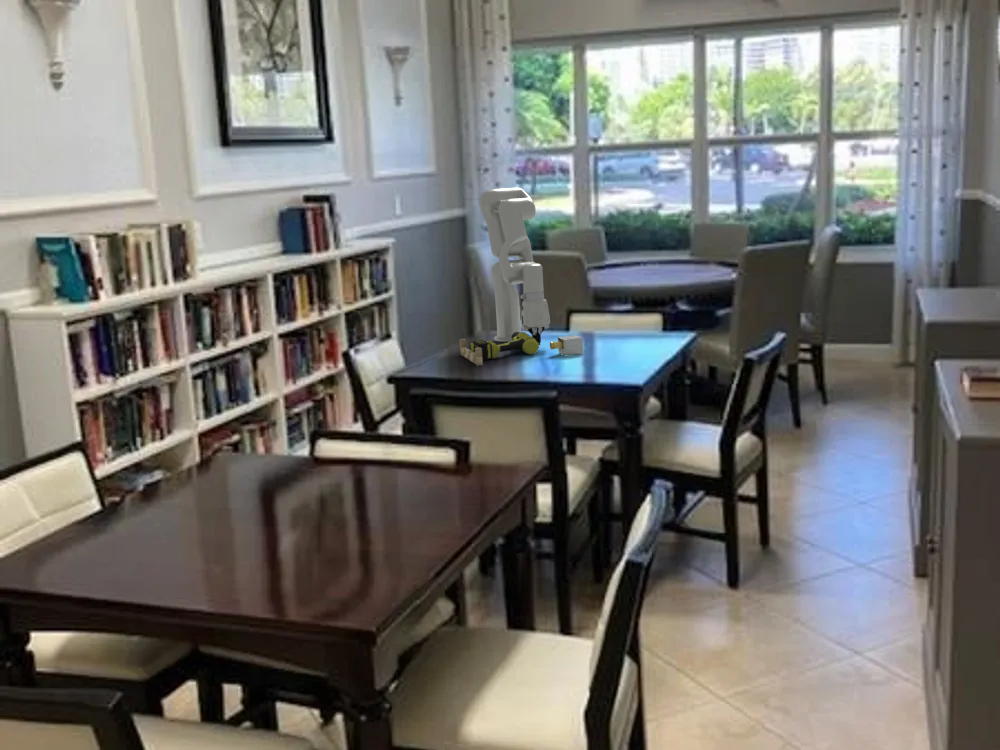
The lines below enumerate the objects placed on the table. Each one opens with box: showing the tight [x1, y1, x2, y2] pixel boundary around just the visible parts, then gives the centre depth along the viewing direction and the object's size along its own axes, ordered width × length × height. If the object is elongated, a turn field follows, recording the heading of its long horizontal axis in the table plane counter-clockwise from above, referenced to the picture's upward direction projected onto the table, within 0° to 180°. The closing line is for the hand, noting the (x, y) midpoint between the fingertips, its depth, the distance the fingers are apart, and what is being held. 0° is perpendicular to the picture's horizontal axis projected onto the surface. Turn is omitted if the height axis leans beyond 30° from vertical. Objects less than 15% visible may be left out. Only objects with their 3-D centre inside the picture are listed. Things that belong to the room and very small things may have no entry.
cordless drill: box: [469, 331, 540, 362], centre depth 392 cm, size 7×25×25 cm
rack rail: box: [459, 338, 484, 367], centre depth 382 cm, size 24×2×6 cm, turn 16°
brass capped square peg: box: [549, 340, 563, 350], centre depth 382 cm, size 3×10×3 cm, turn 106°
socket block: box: [557, 334, 584, 356], centre depth 382 cm, size 7×7×6 cm
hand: (536, 344), depth 396 cm, fingers closed
